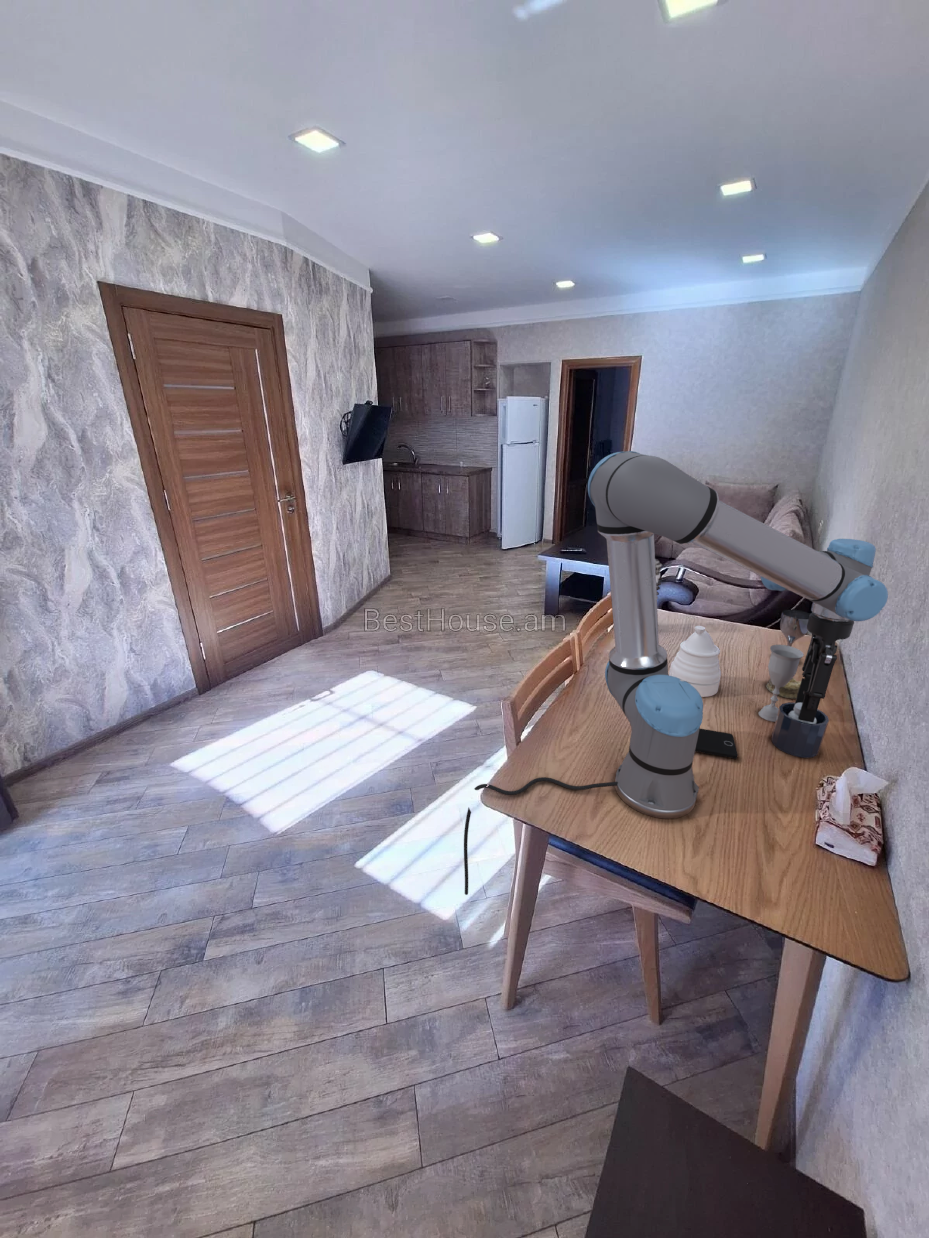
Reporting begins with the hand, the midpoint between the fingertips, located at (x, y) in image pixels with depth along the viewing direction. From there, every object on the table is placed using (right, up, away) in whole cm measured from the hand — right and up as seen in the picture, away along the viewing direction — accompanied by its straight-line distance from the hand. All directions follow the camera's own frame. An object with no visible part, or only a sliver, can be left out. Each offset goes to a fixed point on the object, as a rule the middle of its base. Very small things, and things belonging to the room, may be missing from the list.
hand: (803, 712), depth 111 cm
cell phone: (-23, -8, +5) cm, 25 cm away
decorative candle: (-13, +17, +67) cm, 70 cm away
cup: (0, -8, +3) cm, 9 cm away
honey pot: (-12, +2, +29) cm, 31 cm away
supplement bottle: (0, -8, +3) cm, 8 cm away
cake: (+13, +1, +26) cm, 29 cm away
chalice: (+1, -4, +14) cm, 15 cm away
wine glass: (+24, +8, +43) cm, 50 cm away
